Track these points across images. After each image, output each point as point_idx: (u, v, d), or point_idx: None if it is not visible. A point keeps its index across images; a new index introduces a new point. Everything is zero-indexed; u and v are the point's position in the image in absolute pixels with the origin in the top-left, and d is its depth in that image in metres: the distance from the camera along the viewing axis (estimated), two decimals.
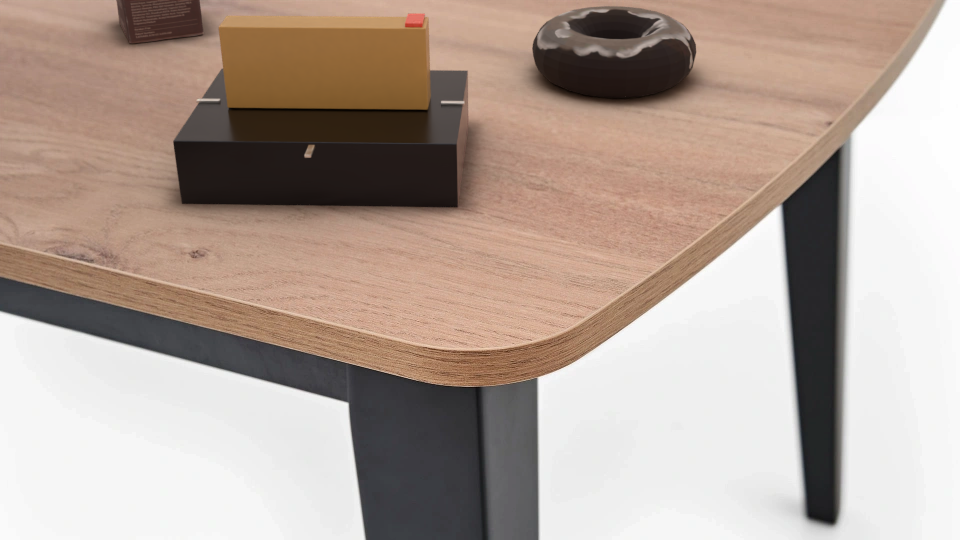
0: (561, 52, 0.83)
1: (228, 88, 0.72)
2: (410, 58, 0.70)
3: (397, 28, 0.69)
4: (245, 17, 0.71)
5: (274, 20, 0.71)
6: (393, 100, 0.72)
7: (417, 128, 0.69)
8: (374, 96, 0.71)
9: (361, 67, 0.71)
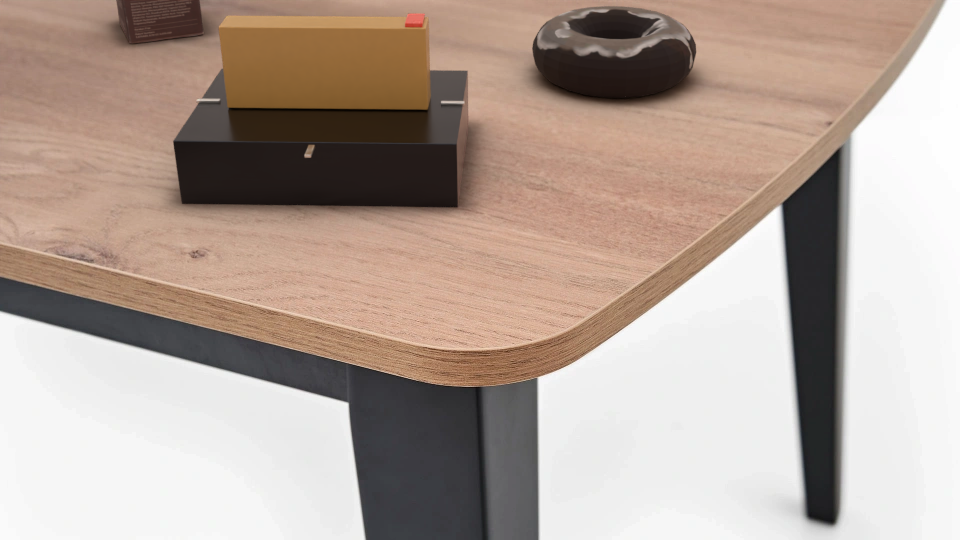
0: (561, 52, 0.83)
1: (228, 88, 0.72)
2: (410, 58, 0.70)
3: (397, 28, 0.69)
4: (245, 17, 0.71)
5: (274, 20, 0.71)
6: (393, 100, 0.72)
7: (417, 128, 0.69)
8: (374, 96, 0.71)
9: (361, 67, 0.71)
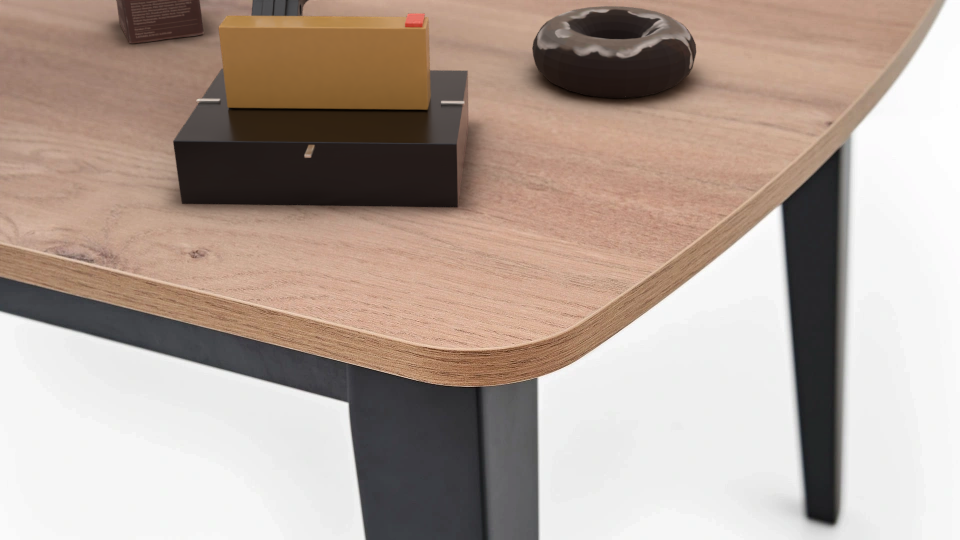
0: (561, 52, 0.83)
1: (228, 88, 0.72)
2: (410, 58, 0.70)
3: (397, 28, 0.69)
4: (245, 17, 0.71)
5: (274, 20, 0.71)
6: (393, 100, 0.72)
7: (417, 128, 0.69)
8: (374, 96, 0.71)
9: (361, 67, 0.71)
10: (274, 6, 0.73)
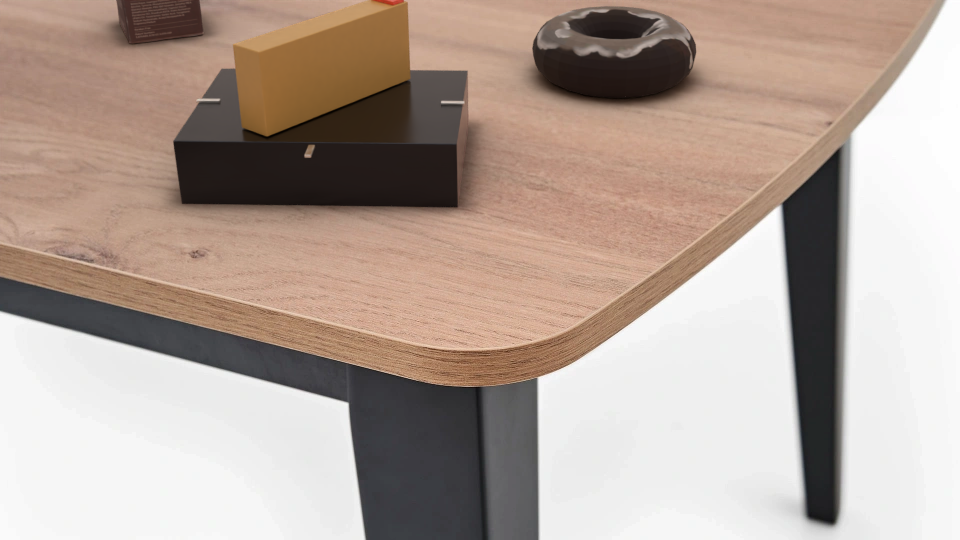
0: (561, 52, 0.83)
1: (267, 115, 0.68)
2: (399, 33, 0.74)
3: (389, 8, 0.73)
4: (253, 39, 0.68)
5: (284, 33, 0.69)
6: (388, 79, 0.75)
7: (417, 128, 0.69)
8: (375, 80, 0.74)
9: (366, 55, 0.73)
10: None
